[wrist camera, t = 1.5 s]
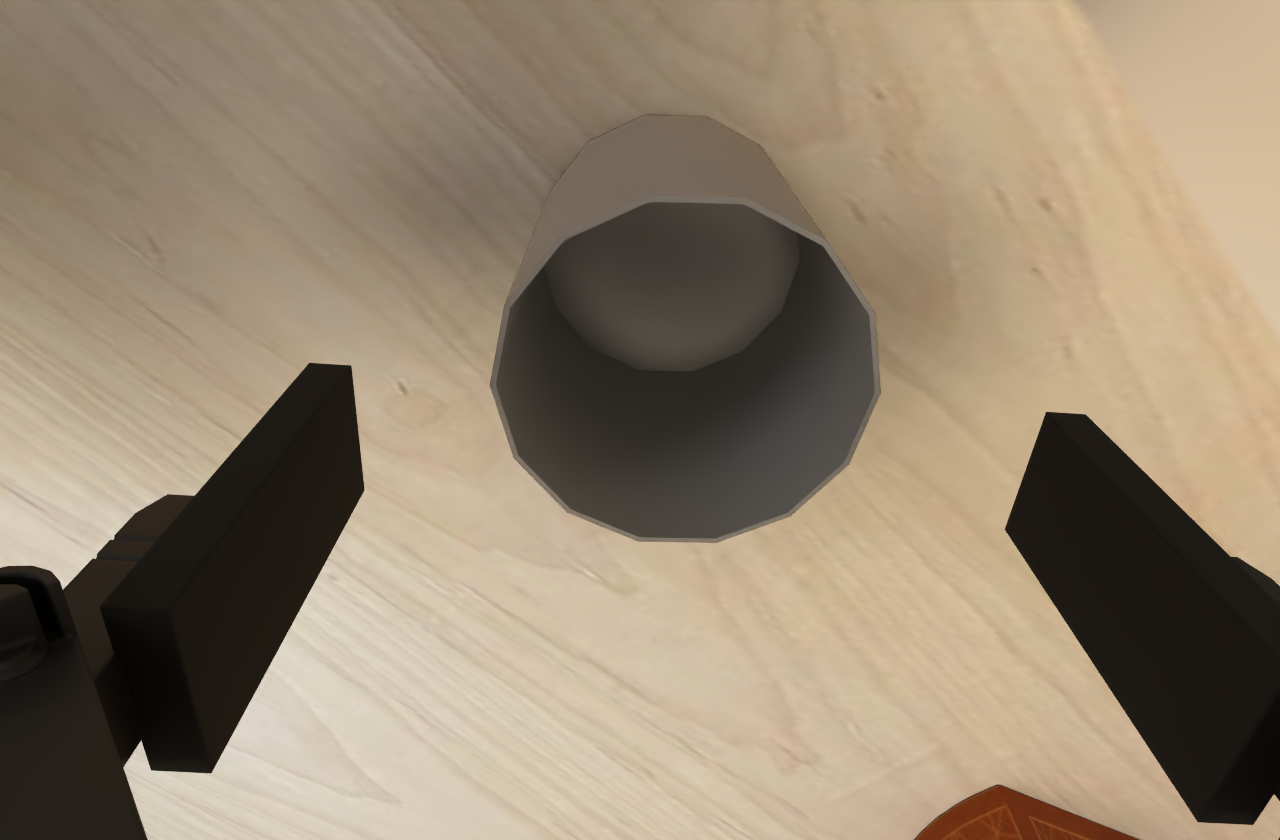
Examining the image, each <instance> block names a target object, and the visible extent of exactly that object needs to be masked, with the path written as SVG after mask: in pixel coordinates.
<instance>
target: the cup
mask: <svg viewBox="0 0 1280 840" xmlns="http://www.w3.org/2000/svg"><path fill="white" fill-rule="evenodd" d="M490 387H491V390H492V393H493V396H494V399H495V402H496V405H497V408H498V412H499V415H500V418H501V421H502V424H503V427H504V430H505V433H506V436H507V439H508V442H509V445H510V448H511V451H512V454H513V457H514V459H515V460H516V461H517V462H518V463H519V464H520V465H521V466H522V467H523V468H524V469H525V470H526V471H527V472H528V473H529V474H530V475H531V476H532V477H533V478H534V479H535V480H536V481H537V482H538V483H539V484H540V485H541V486H542V487H543V488H544V489H545V490H546V491H547V492H548V493H549V495H550V496H551V497H552V498H553V499H554V500H555V501H556V502H557V503H558V504H559V505H560V506H561V507H562V508H563V509H564V510H565V511H566V512H567V513H570V514H572V515H575V516H577V517H580V518H582V519H585V520H587V521H589V522H592V523H594V524H597V525H599V526H602V527H604V528H607V529H609V530H612V531H614V532H616V533H619V534H621V535H624V536H626V537H629V538H631V539H634V540H636V541H644V542H702V543H717V542H720V541H723V540H725V539H728V538H731V537H734V536H737V535H739V534H742V533H745V532H748V531H751V530H753V529H756V528H759V527H762V526H765V525H767V524H770V523H773V522H776V521H778V520H781V519H784V518H787V517H790V516H791V515H792V514H793V513H795V512H796V511H797V510H798V509H799V508H800V507H801V506H802V505H804V504H805V503H806V502H807V501H808V500H809V499H810V498H812V497H813V496H814V495H815V494H816V493H817V492H818V491H819V490H821V489H822V488H823V487H824V486H825V485H826V484H827V483H828V482H830V481H831V480H832V479H833V478H834V477H835V476H836V475H837V474H839V473H840V472H841V471H842V470H843V469H844V468H845V467H846V466H848V465H849V463H850V461H851V459H852V456H853V454H854V452H855V450H856V447H857V445H858V443H859V441H860V438H861V436H862V434H863V432H864V429H865V427H866V425H867V423H868V420H869V418H870V416H871V413H872V411H873V409H874V407H875V404H876V402H877V400H878V398H879V395H880V393H881V390H880V375H879V361H878V346H877V332H876V317H875V312H874V310H873V309H872V307H871V306H870V304H869V303H868V301H867V300H866V298H865V297H864V295H863V294H862V292H861V291H860V289H859V288H858V286H857V285H856V283H855V282H854V280H853V279H852V277H851V275H850V274H849V272H848V271H847V269H846V268H845V266H844V265H843V263H842V262H841V260H840V259H839V257H838V256H837V254H836V253H835V251H834V250H833V248H832V247H831V245H830V244H829V242H828V241H827V239H826V238H825V236H824V235H823V234H822V232H821V231H820V229H819V228H818V227H817V225H816V224H815V222H814V221H813V219H812V218H811V217H810V215H809V214H808V212H807V211H806V209H805V208H804V207H803V205H802V204H801V202H800V201H799V200H798V198H797V197H796V195H795V194H794V192H793V191H792V190H791V188H790V187H789V185H788V184H787V182H786V181H785V180H784V178H783V177H782V175H781V174H780V172H779V171H778V170H777V168H776V167H775V165H774V164H773V163H772V161H771V160H770V158H769V157H768V155H767V154H766V153H765V151H764V150H763V148H762V147H761V146H760V145H758V144H756V143H754V142H753V141H751V140H749V139H747V138H745V137H744V136H742V135H740V134H738V133H736V132H734V131H733V130H731V129H729V128H727V127H725V126H723V125H722V124H720V123H718V122H716V121H714V120H713V119H711V118H709V117H707V116H666V115H643V116H641V117H639V118H637V119H635V120H633V121H631V122H629V123H627V124H624V125H622V126H620V127H618V128H616V129H614V130H612V131H610V132H608V133H606V134H604V135H601V136H599V137H597V138H595V139H593V140H591V141H589V142H587V144H586V145H585V146H584V148H583V149H582V150H581V152H580V153H579V154H578V155H577V157H576V158H575V159H574V161H573V162H572V163H571V164H570V166H569V167H568V168H567V170H566V171H565V172H564V174H563V175H562V176H561V177H560V179H559V180H558V181H557V183H556V184H555V185H554V186H553V188H552V189H551V191H550V193H549V196H548V198H547V200H546V203H545V205H544V208H543V210H542V213H541V215H540V218H539V220H538V223H537V225H536V228H535V230H534V233H533V235H532V238H531V240H530V243H529V245H528V248H527V250H526V253H525V255H524V258H523V260H522V263H521V265H520V268H519V270H518V272H517V275H516V277H515V280H514V282H513V285H512V287H511V290H510V292H509V295H508V297H507V300H506V302H505V305H504V310H503V315H502V321H501V326H500V332H499V337H498V343H497V348H496V354H495V359H494V365H493V370H492V376H491V381H490Z"/></svg>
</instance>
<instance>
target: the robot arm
mask: <svg viewBox="0 0 1280 840" xmlns="http://www.w3.org/2000/svg"><path fill="white" fill-rule="evenodd" d="M363 492H364V481H363V472H362V462H361V453H360V443H359V434H358V425H357V415H356V406H355V396H354V387H353V377H352V368H351V366H348V365H333V364H318V363H309V364H308V365H307V366H306V368H305V369H304V370H303V371H302V372H301V373H300V375H299V376H298V377H297V378H296V379H295V380H294V381H293V383H292V384H291V385H290V386H289V387H288V388H287V390H286V391H285V392H284V393H283V394H282V395H281V397H280V398H279V399H278V400H277V401H276V402H275V403H274V405H273V406H272V407H271V408H270V409H269V410H268V412H267V413H266V414H265V415H264V416H263V417H262V419H261V420H260V421H259V422H258V423H257V424H256V426H255V427H254V428H253V429H252V430H251V431H250V432H249V434H248V435H247V436H246V437H245V438H244V439H243V441H242V442H241V443H240V444H239V445H238V446H237V448H236V449H235V450H234V451H233V452H232V453H231V454H230V456H229V457H228V458H227V459H226V460H225V461H224V463H223V464H222V465H221V466H220V467H219V468H218V470H217V471H216V472H215V473H214V474H213V475H212V477H211V478H210V479H209V480H208V481H207V482H206V483H205V485H204V486H203V487H202V488H201V489H200V490H199V492H198V493H197V494H196V495H195V496H186V495H170V494H168V495H166V496H164V497H163V498H161V499H159V500H157V501H156V502H154V503H152V504H151V505H149V506H147V507H145V508H144V509H142V510H140V511H138V512H137V513H135V514H134V515H133V517H132V518H131V519H130V520H129V521H128V522H127V523H126V524H125V525H124V526H123V527H122V528H121V529H120V530H119V531H118V532H117V533H116V535H115V538H114V540H110V541H109V542H108V543H107V544H106V545H105V546H104V547H103V548H102V549H101V550H100V551H99V552H98V554H97V558H96V559H92V560H91V561H90V562H89V563H88V564H87V565H86V566H85V567H84V568H83V569H82V570H81V572H80V573H79V574H78V575H77V576H76V577H75V578H74V579H73V580H72V581H71V582H70V583H69V584H68V585H67V586H66V587H65V588H64V590H62V587H61V584H60V581H59V580H58V579H57V578H56V576H55V575H54V574H53V573H52V572H51V571H49V570H45V569H42V568H38V567H35V566H7V567H2V568H0V840H148V839H147V836H146V834H145V831H144V828H143V825H142V822H141V819H140V816H139V813H138V810H137V807H136V804H135V801H134V798H133V795H132V792H131V789H130V786H129V783H128V780H127V777H126V775H125V772H124V769H123V767H124V765H125V764H126V762H127V761H128V759H129V758H130V756H131V755H132V753H133V752H134V750H135V749H136V747H137V746H138V744H139V743H140V741H141V740H142V743H143V746H144V749H145V753H146V756H147V759H148V762H149V765H150V768H151V770H155V771H175V772H196V773H212V771H213V769H214V767H215V765H216V764H217V762H218V760H219V758H220V756H221V754H222V752H223V751H224V749H225V747H226V745H227V743H228V741H229V740H230V738H231V736H232V734H233V732H234V730H235V728H236V727H237V725H238V723H239V721H240V719H241V717H242V716H243V714H244V712H245V710H246V708H247V706H248V704H249V703H250V701H251V699H252V697H253V695H254V693H255V691H256V690H257V688H258V686H259V684H260V682H261V680H262V679H263V677H264V675H265V673H266V671H267V669H268V667H269V666H270V664H271V662H272V660H273V658H274V656H275V655H276V653H277V651H278V649H279V647H280V645H281V643H282V642H283V640H284V638H285V636H286V634H287V632H288V630H289V629H290V627H291V625H292V623H293V621H294V619H295V618H296V616H297V614H298V612H299V610H300V608H301V606H302V605H303V603H304V601H305V599H306V597H307V595H308V593H309V592H310V590H311V588H312V586H313V584H314V582H315V581H316V579H317V577H318V575H319V573H320V571H321V569H322V568H323V566H324V564H325V562H326V560H327V558H328V557H329V555H330V553H331V551H332V549H333V547H334V545H335V544H336V542H337V540H338V538H339V536H340V534H341V532H342V531H343V529H344V527H345V525H346V523H347V521H348V520H349V518H350V516H351V514H352V512H353V510H354V508H355V507H356V505H357V503H358V501H359V499H360V497H361V495H362V494H363ZM1005 530H1006V532H1007V534H1008V535H1009V537H1010V538H1011V540H1012V541H1013V543H1014V544H1015V546H1016V547H1017V549H1018V550H1019V552H1020V553H1021V555H1022V556H1023V558H1024V559H1025V561H1026V562H1027V564H1028V565H1029V567H1030V568H1031V570H1032V571H1033V573H1034V574H1035V576H1036V577H1037V579H1038V580H1039V582H1040V584H1041V585H1042V587H1043V588H1044V590H1045V591H1046V593H1047V594H1048V596H1049V597H1050V599H1051V600H1052V602H1053V603H1054V605H1055V606H1056V608H1057V609H1058V611H1059V612H1060V614H1061V615H1062V617H1063V618H1064V620H1065V621H1066V623H1067V624H1068V626H1069V627H1070V629H1071V630H1072V632H1073V634H1074V635H1075V637H1076V638H1077V640H1078V641H1079V643H1080V644H1081V646H1082V647H1083V649H1084V650H1085V652H1086V653H1087V655H1088V656H1089V658H1090V659H1091V661H1092V662H1093V664H1094V665H1095V667H1096V668H1097V670H1098V671H1099V673H1100V674H1101V676H1102V677H1103V679H1104V680H1105V682H1106V684H1107V685H1108V687H1109V688H1110V690H1111V691H1112V693H1113V694H1114V696H1115V697H1116V699H1117V700H1118V702H1119V703H1120V705H1121V706H1122V708H1123V709H1124V711H1125V712H1126V714H1127V715H1128V717H1129V718H1130V720H1131V721H1132V723H1133V724H1134V726H1135V727H1136V729H1137V731H1138V732H1139V734H1140V735H1141V737H1142V738H1143V740H1144V741H1145V743H1146V744H1147V746H1148V747H1149V749H1150V750H1151V752H1152V753H1153V755H1154V756H1155V758H1156V759H1157V761H1158V762H1159V764H1160V765H1161V767H1162V768H1163V770H1164V771H1165V773H1166V774H1167V776H1168V777H1169V779H1170V781H1171V782H1172V784H1173V785H1174V787H1175V788H1176V790H1177V791H1178V793H1179V794H1180V796H1181V797H1182V799H1183V800H1184V802H1185V803H1186V805H1187V806H1188V808H1189V809H1190V811H1191V812H1192V814H1193V815H1194V817H1195V818H1196V820H1197V821H1198V822H1206V823H1227V824H1247V825H1253V824H1254V823H1255V821H1256V820H1257V818H1258V817H1259V815H1260V814H1261V812H1262V811H1263V809H1264V808H1265V806H1266V805H1267V803H1268V802H1269V800H1270V799H1271V797H1272V796H1273V795H1274V794H1275V795H1276V797H1277V798H1278V799H1279V801H1280V586H1279V585H1278V584H1277V583H1276V582H1275V581H1274V580H1272V579H1271V578H1270V577H1268V576H1266V575H1265V574H1263V573H1262V572H1260V571H1258V570H1257V569H1255V568H1254V567H1252V566H1250V565H1249V564H1247V563H1246V562H1244V561H1243V560H1241V559H1239V558H1238V557H1230V556H1229V555H1228V554H1227V553H1226V552H1225V551H1224V550H1223V549H1222V548H1221V547H1220V546H1219V545H1218V544H1217V543H1216V542H1215V541H1214V540H1213V539H1212V538H1211V537H1210V536H1209V535H1208V534H1207V533H1206V532H1205V531H1204V530H1203V529H1202V528H1201V527H1200V526H1199V525H1198V524H1197V523H1196V522H1195V521H1194V520H1193V519H1192V518H1190V517H1189V516H1188V515H1187V514H1186V513H1185V512H1184V511H1183V510H1182V509H1181V508H1180V507H1179V506H1178V505H1177V504H1176V503H1175V502H1174V501H1173V500H1172V499H1171V498H1170V497H1169V496H1168V495H1167V494H1166V493H1165V492H1164V491H1163V490H1162V489H1161V488H1160V487H1159V486H1158V485H1157V484H1156V483H1155V482H1154V481H1153V480H1152V479H1151V478H1150V477H1149V476H1148V475H1147V474H1146V473H1145V472H1144V471H1143V470H1142V469H1141V468H1140V467H1139V466H1138V465H1136V464H1135V463H1134V462H1133V461H1132V460H1131V459H1130V458H1129V457H1128V456H1127V455H1126V454H1125V453H1124V452H1123V451H1122V450H1121V449H1120V448H1119V447H1118V446H1117V445H1116V444H1115V443H1114V442H1113V441H1112V440H1111V439H1110V438H1109V437H1108V436H1107V435H1106V434H1105V433H1104V432H1103V431H1102V430H1101V429H1100V428H1099V427H1098V426H1097V425H1096V424H1095V423H1094V422H1093V421H1092V420H1091V419H1090V418H1089V417H1088V416H1087V415H1085V414H1070V413H1055V412H1046V414H1045V417H1044V420H1043V423H1042V425H1041V428H1040V431H1039V434H1038V437H1037V440H1036V442H1035V445H1034V448H1033V451H1032V454H1031V457H1030V459H1029V462H1028V465H1027V468H1026V471H1025V474H1024V476H1023V479H1022V482H1021V485H1020V488H1019V491H1018V493H1017V496H1016V499H1015V502H1014V505H1013V508H1012V511H1011V513H1010V516H1009V519H1008V522H1007V525H1006V528H1005ZM1278 840H1280V838H1279V839H1278Z"/></svg>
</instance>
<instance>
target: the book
mask: <svg viewBox="0 0 1280 840" xmlns="http://www.w3.org/2000/svg"><path fill="white" fill-rule="evenodd" d="M915 840H1138V839H1135V838H1133V837H1130V836H1127V835H1125V834H1122V833H1120V832H1117V831H1115V830H1112V829H1110V828H1107V827H1105V826H1102V825H1099V824H1097V823H1094V822H1092V821H1089V820H1087V819H1084V818H1082V817H1079V816H1077V815H1074V814H1071V813H1069V812H1066V811H1064V810H1061V809H1059V808H1056V807H1054V806H1051V805H1049V804H1046V803H1043V802H1041V801H1038V800H1036V799H1033V798H1031V797H1028V796H1026V795H1023V794H1021V793H1018V792H1015V791H1013V790H1010V789H1008V788H1005V787H1003V786H999V785H997V786H995V787H992V788H990V789H988V790H986V791H983V792H981V793H979V794H977V795H975V796H972V797H971V798H969V799H967V800H965V801H963V802H961V803H959V804H957V805H956V806H954V807H952V808H951V809H950V810H948V811H947V812H945V813H944V814H943V815H941V816H940V817H938V818H937V819H936V820H934V821H933V822H932V823H931V824H930V825H929V826H928V827H927V828H926V829H925V830H923V831H922V832H921V833H920V834H919V836H918V837H917V838H916V839H915Z"/></svg>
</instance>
